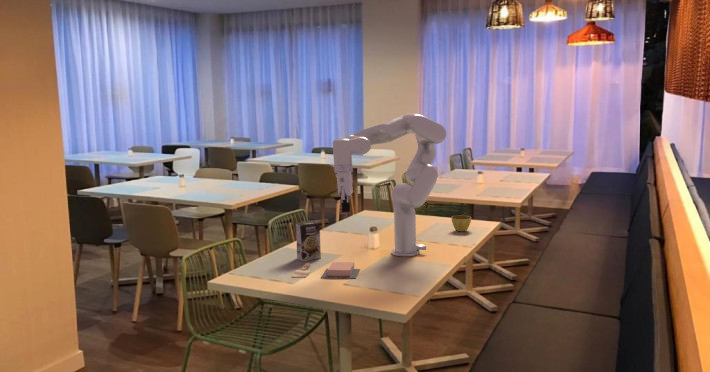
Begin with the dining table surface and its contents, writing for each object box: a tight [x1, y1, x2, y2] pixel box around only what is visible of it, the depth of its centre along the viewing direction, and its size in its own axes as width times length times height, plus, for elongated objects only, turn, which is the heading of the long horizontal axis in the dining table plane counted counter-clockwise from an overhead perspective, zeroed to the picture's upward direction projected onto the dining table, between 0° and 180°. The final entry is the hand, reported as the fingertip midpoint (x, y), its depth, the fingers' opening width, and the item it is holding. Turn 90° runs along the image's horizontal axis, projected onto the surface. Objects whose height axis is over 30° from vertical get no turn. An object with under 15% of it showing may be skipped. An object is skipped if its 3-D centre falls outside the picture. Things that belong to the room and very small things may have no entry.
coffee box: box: [295, 220, 322, 262], centre depth 264 cm, size 9×6×16 cm
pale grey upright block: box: [327, 261, 355, 276], centre depth 242 cm, size 9×3×11 cm
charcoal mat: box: [320, 268, 361, 280], centre depth 241 cm, size 14×12×1 cm
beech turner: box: [291, 262, 311, 279], centre depth 246 cm, size 17×6×1 cm, turn 172°
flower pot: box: [451, 214, 472, 232], centre depth 307 cm, size 10×10×7 cm
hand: (346, 211), depth 251 cm, fingers closed
